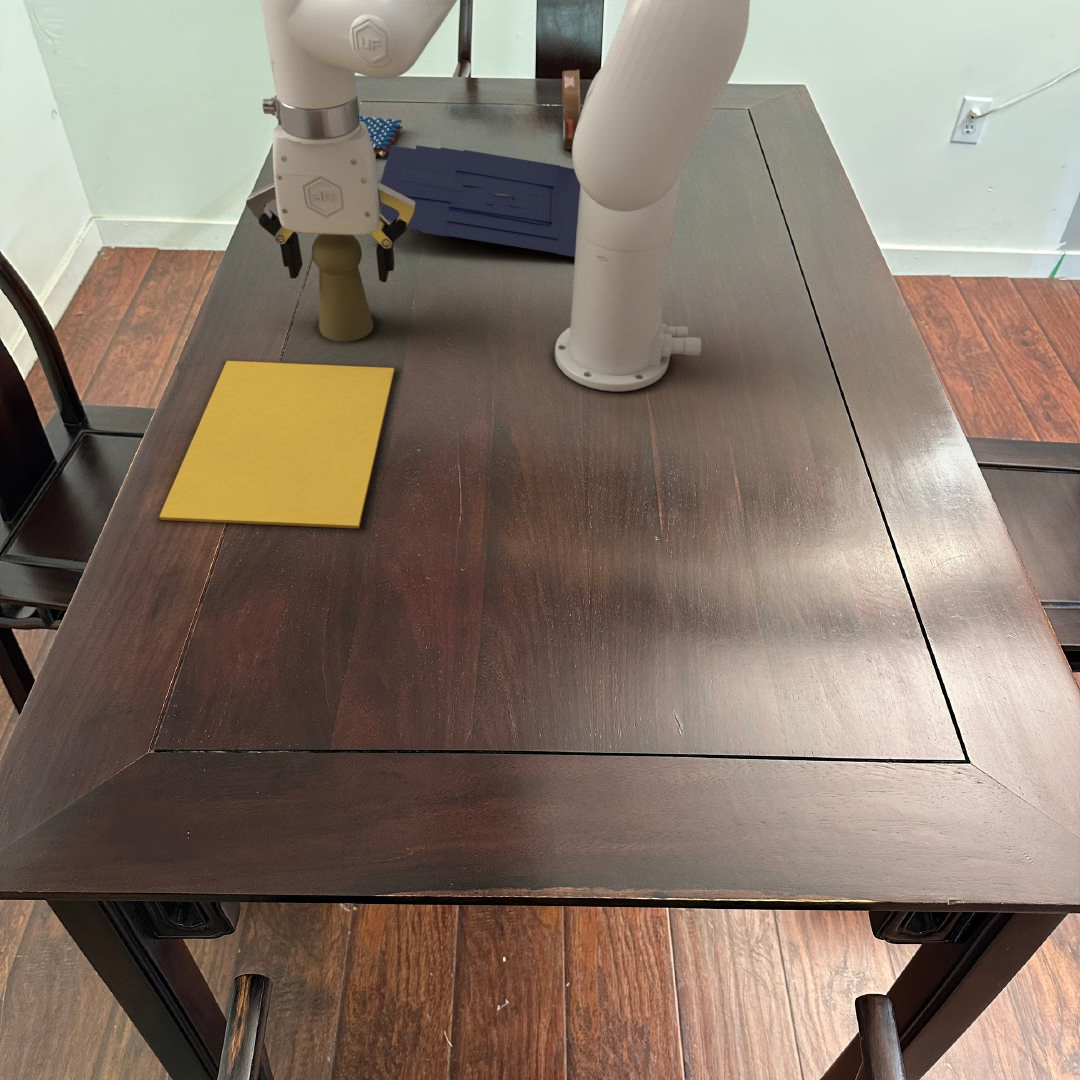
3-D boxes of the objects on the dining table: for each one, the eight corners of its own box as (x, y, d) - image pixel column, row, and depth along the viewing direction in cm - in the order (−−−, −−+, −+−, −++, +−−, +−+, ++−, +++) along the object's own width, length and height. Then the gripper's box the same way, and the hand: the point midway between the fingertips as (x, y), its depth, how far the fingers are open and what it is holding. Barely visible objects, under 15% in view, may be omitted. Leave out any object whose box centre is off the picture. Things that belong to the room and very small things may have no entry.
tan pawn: (363, 345, 107) (352, 255, 99) (311, 337, 108) (296, 247, 100) (380, 315, 111) (371, 227, 103) (330, 308, 112) (317, 219, 104)
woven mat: (335, 124, 147) (334, 111, 145) (404, 131, 146) (403, 117, 145) (315, 154, 140) (313, 140, 138) (386, 161, 139) (385, 147, 137)
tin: (581, 159, 141) (584, 100, 135) (559, 158, 141) (562, 100, 135) (579, 117, 152) (582, 61, 146) (559, 116, 152) (562, 60, 146)
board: (394, 370, 104) (394, 367, 104) (359, 528, 87) (358, 525, 87) (227, 363, 104) (226, 360, 104) (159, 520, 87) (158, 517, 87)
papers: (392, 158, 137) (393, 133, 134) (600, 192, 139) (605, 168, 136) (364, 244, 120) (365, 217, 117) (602, 281, 122) (608, 255, 120)
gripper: (218, 126, 90) (252, 289, 102) (404, 133, 90) (416, 295, 102) (238, 94, 95) (268, 253, 107) (414, 101, 95) (424, 259, 107)
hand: (340, 273), depth 105 cm, fingers open, 9 cm apart
